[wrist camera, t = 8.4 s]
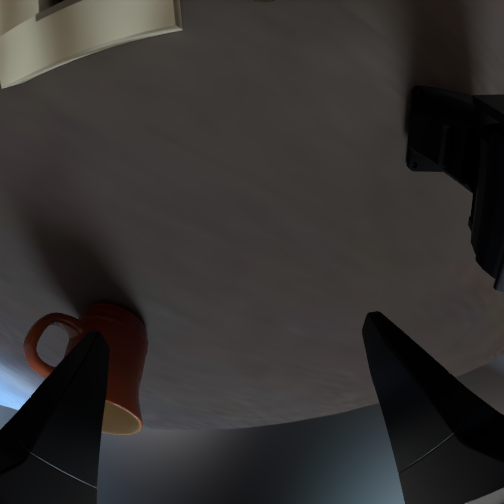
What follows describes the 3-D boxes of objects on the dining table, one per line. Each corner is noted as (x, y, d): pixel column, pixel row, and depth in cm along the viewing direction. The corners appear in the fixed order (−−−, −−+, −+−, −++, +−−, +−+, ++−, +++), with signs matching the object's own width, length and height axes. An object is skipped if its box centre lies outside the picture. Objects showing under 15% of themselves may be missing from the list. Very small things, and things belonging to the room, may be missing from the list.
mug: (174, 336, 29) (164, 430, 20) (116, 357, 31) (100, 437, 22) (90, 251, 22) (41, 350, 14) (39, 287, 24) (-3, 370, 16)
